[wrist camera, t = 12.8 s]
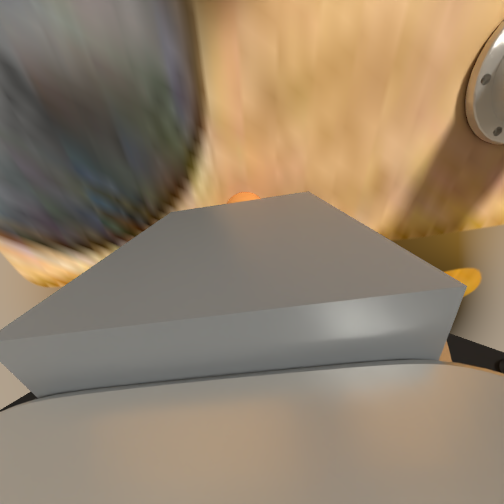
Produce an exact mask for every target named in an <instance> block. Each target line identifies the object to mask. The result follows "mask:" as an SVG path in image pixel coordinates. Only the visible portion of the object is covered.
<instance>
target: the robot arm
mask: <svg viewBox="0 0 504 504" xmlns="http://www.w3.org/2000/svg"><path fill="white" fill-rule="evenodd" d="M465 104H466V116H467V119H468V123H469V125H470V127H471V129H472V130H473V132H474V133H475V134H476V135H477V136H478V137H479V138H480V139H482V140H484V141H486V142H488V143H493V144H498V145H500V144H504V21H503V22H502V23H501V24H500V25H499V26H498V28H497V29H496V30H495V32H494V33H493V34H492V36H491V37H490V38H489V40H488V41H487V43H486V45H485V46H484V48H483V50H482V51H481V53H480V55H479V57H478V59H477V61H476V64H475V66H474V68H473V70H472V73H471V76H470V80H469V83H468V87H467V93H466V101H465ZM0 504H504V352H501V351H498V350H495V349H492V348H489V347H487V346H484V345H481V344H478V343H475V342H472V341H470V340H467V339H464V338H461V337H458V336H455V335H452V334H450V333H449V335H448V337H447V340H446V343H445V345H444V348H443V351H442V353H441V356H440V359H439V360H419V359H406V360H387V361H370V362H360V363H348V364H337V365H326V366H316V367H305V368H294V369H284V370H273V371H263V372H253V373H243V374H233V375H223V376H213V377H203V378H193V379H183V380H173V381H164V382H154V383H144V384H135V385H125V386H116V387H106V388H97V389H89V390H82V391H75V392H68V393H62V394H56V395H52V396H48V397H43V398H39V399H38V398H37V397H36V396H35V395H34V394H33V393H32V392H30V393H28V394H26V395H25V396H23V397H21V398H20V399H18V400H16V401H15V402H13V403H11V404H10V405H8V406H6V407H4V408H3V409H1V410H0Z"/></svg>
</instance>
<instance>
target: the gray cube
mask: <svg viewBox="0 0 504 504" xmlns="http://www.w3.org/2000/svg"><path fill="white" fill-rule="evenodd" d="M466 287H467V286H466V285H464V284H463V283H461V282H459V281H458V280H456V279H454V278H453V277H451V276H449V275H447V274H446V273H444V272H442V271H441V270H439V269H437V268H436V267H434V266H432V265H431V264H429V263H427V262H426V261H424V260H422V259H421V258H419V257H417V256H415V255H414V254H412V253H411V252H409V251H407V250H406V249H404V248H402V247H401V246H399V245H397V244H396V243H394V242H392V241H391V240H389V239H387V238H385V237H384V236H382V235H380V234H379V233H377V232H375V231H374V230H372V229H370V228H369V227H367V226H365V225H364V224H362V223H360V222H359V221H357V220H355V219H354V218H352V217H350V216H349V215H347V214H345V213H344V212H342V211H340V210H339V209H337V208H335V207H334V206H332V205H330V204H329V203H327V202H325V201H324V200H322V199H320V198H318V197H317V196H315V195H313V194H312V193H310V192H302V193H295V194H289V195H282V196H276V197H269V198H262V199H256V200H249V201H242V202H236V203H229V204H222V205H216V206H209V207H203V208H196V209H189V210H183V211H176V212H171V213H170V214H168V215H167V216H165V217H164V218H162V219H161V220H159V221H158V222H156V223H155V224H154V225H152V226H151V227H149V228H148V229H146V230H145V231H143V232H142V233H140V234H139V235H138V236H136V237H135V238H133V239H132V240H130V241H129V242H127V243H126V244H125V245H123V246H122V247H120V248H119V249H117V250H116V251H114V252H113V253H111V254H110V255H109V256H107V257H106V258H104V259H103V260H101V261H100V262H98V263H97V264H96V265H94V266H93V267H91V268H90V269H88V270H87V271H85V272H84V273H82V274H81V275H80V276H78V277H77V278H75V279H74V280H72V281H71V282H69V283H68V284H67V285H65V286H64V287H62V288H61V289H59V290H58V291H56V292H55V293H53V294H52V295H51V296H49V297H48V298H46V299H45V300H43V301H42V302H41V303H39V304H38V305H36V306H35V307H33V308H32V309H30V310H29V311H27V312H26V313H25V314H23V315H22V316H20V317H19V318H17V319H16V320H14V321H13V322H11V323H10V324H8V325H7V326H6V327H4V328H3V329H1V330H0V362H1V363H2V364H3V365H4V366H5V367H6V368H7V369H8V370H9V371H10V372H12V373H13V374H14V375H15V376H16V377H17V378H18V379H19V380H20V381H21V382H22V383H23V384H24V385H25V386H26V387H27V388H28V389H29V390H30V391H31V392H32V393H33V394H34V395H35V396H36V397H37V398H38V399H39V398H43V397H48V396H52V395H56V394H62V393H68V392H75V391H82V390H89V389H97V388H106V387H116V386H125V385H135V384H144V383H154V382H164V381H173V380H183V379H193V378H203V377H213V376H223V375H233V374H243V373H253V372H263V371H273V370H284V369H294V368H305V367H316V366H326V365H337V364H348V363H360V362H370V361H387V360H406V359H419V360H439V359H440V356H441V353H442V351H443V348H444V345H445V343H446V340H447V337H448V335H449V332H450V330H451V327H452V324H453V321H454V319H455V316H456V314H457V311H458V308H459V306H460V303H461V300H462V298H463V295H464V293H465V290H466Z"/></svg>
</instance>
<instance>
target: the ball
mask: <svg viewBox="0 0 504 504" xmlns="http://www.w3.org/2000/svg"><path fill="white" fill-rule="evenodd" d="M256 199H261V198H260V197H258V196H257V195H255V194H253V193H250V192H241V193H238V194H236V195H234V196H233V197H231V198H230V199H229V201H228V202H227V204H229V203H236V202H242V201H249V200H256Z"/></svg>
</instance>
